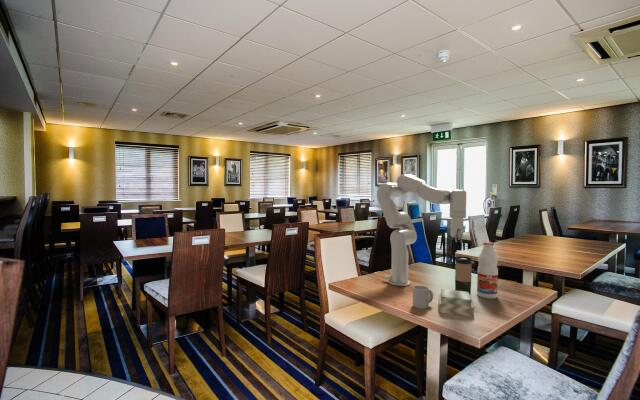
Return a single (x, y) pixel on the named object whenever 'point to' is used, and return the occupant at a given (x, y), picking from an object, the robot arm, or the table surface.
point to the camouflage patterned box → (455, 303)
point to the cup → (422, 297)
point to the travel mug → (463, 274)
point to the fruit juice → (487, 272)
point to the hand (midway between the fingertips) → (456, 248)
